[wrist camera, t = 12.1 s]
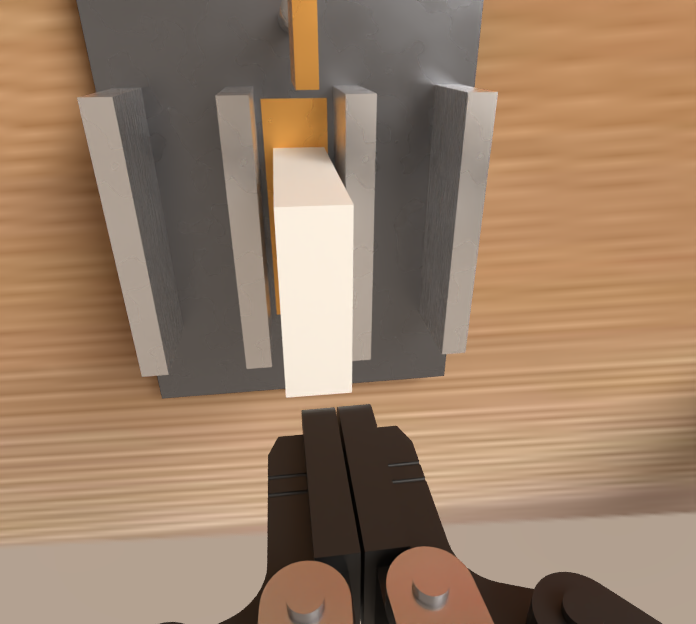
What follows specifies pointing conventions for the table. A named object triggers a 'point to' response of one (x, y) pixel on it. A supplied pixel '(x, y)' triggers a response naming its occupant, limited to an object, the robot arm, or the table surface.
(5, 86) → the table surface
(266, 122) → the rack
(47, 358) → the table surface
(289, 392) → the block
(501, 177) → the table surface
